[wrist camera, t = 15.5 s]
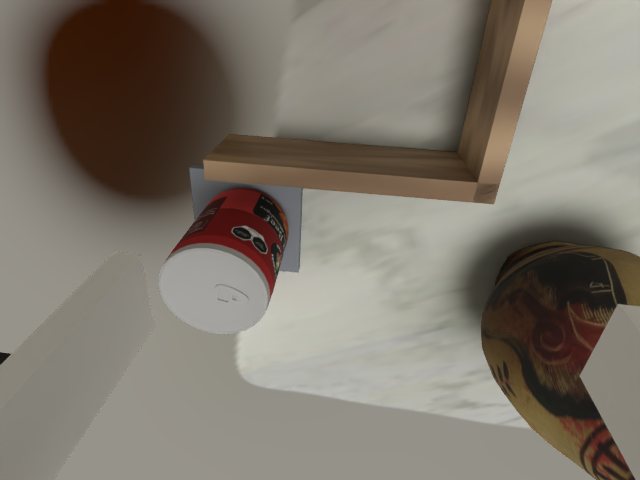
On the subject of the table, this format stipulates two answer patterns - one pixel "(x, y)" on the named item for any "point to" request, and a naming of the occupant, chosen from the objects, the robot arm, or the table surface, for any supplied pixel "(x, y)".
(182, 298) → the canned food
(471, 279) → the table surface
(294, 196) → the coaster
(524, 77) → the shelf
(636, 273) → the ceramic jug
